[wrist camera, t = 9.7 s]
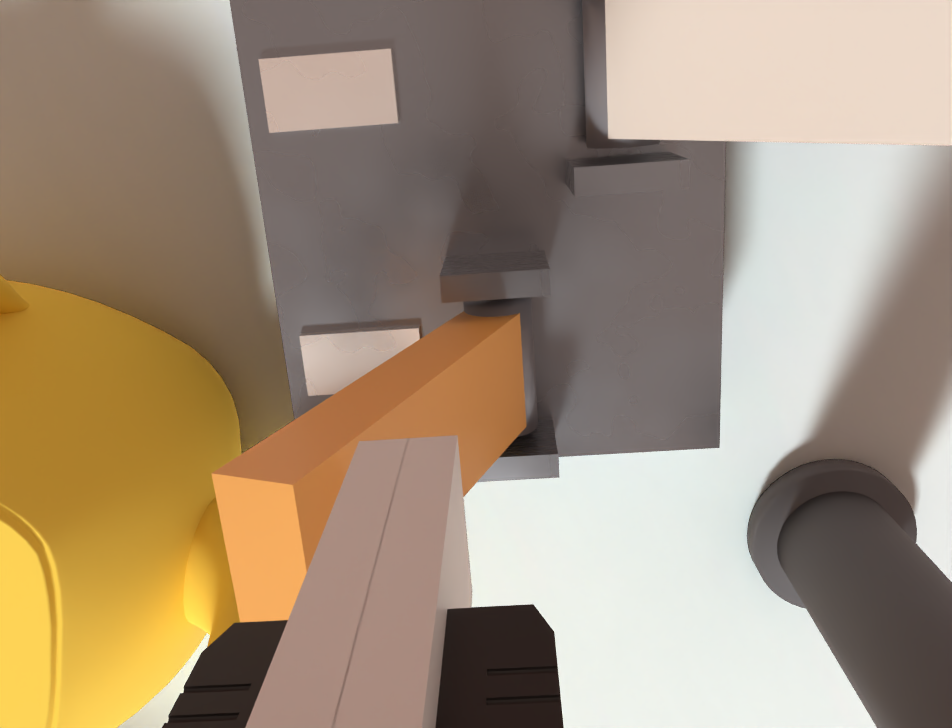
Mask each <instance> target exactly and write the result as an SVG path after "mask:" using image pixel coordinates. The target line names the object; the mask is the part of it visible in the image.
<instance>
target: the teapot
mask: <svg viewBox="0 0 952 728" xmlns="http://www.w3.org/2000/svg"><path fill="white" fill-rule="evenodd" d="M241 454H242V452H241V439H240V427H239V418H238V415H237V411H236V408H235V404H234V401H233V397H232V395H231V394H230V392H229V390H228V388H227V386H226V385H225V383H224V381H223V379H222V378H221V376H220V375H219V374H218V373H217V371H216V370H215V369H214V368H213V367H212V365H211V364H210V363H209V362H208V361H207V360H206V359H205V358H204V357H202V356H201V355H200V354H199V353H198V352H197V351H195V350H194V349H193V348H192V347H191V346H189V345H187V344H185V343H184V342H182V341H180V340H178V339H176V338H175V337H173V336H171V335H169V334H167V333H166V332H164V331H162V330H160V329H158V328H156V327H154V326H152V325H150V324H147V323H145V322H143V321H141V320H139V319H137V318H135V317H133V316H131V315H128V314H126V313H123V312H121V311H118V310H116V309H113V308H111V307H108V306H106V305H103V304H101V303H98V302H96V301H92V300H89V299H86V298H83V297H80V296H77V295H74V294H71V293H68V292H64V291H60V290H56V289H51V288H47V287H43V286H39V285H35V284H29V283H22V282H16V281H9V280H5V279H4V278H3V277H2V276H1V275H0V728H117V727H118V726H119V725H121V724H122V723H123V722H125V721H126V720H127V719H129V718H130V717H131V716H133V715H134V714H135V713H136V712H138V711H139V710H140V709H141V708H142V707H143V706H144V705H146V704H147V703H148V702H149V701H150V700H151V699H152V698H153V697H154V696H155V695H156V694H158V693H159V692H160V691H161V690H162V689H163V688H164V687H165V686H166V685H167V684H168V683H169V682H170V681H171V680H172V679H173V677H174V676H175V675H176V674H177V673H178V672H179V671H180V670H181V668H182V667H183V666H184V665H185V663H186V662H187V661H188V660H189V658H190V657H191V656H192V654H193V653H194V652H195V650H196V649H197V647H198V646H199V644H200V643H201V641H202V640H203V638H204V636H205V635H206V633H208V634H210V638H209V642H208V646H209V645H210V644H212V643H213V642H214V641H215V640H216V639H217V638H218V637H219V636H220V635H221V634H223V633H224V632H225V631H226V630H227V629H228V628H229V627H230V626H231V625H232V624H233V623H239V622H240V618H239V613H238V608H237V603H236V598H235V592H234V587H233V582H232V577H231V572H230V567H229V561H228V556H227V551H226V546H225V541H224V536H223V530H222V525H221V520H220V515H219V510H218V505H217V499H216V494H215V489H214V484H213V479H212V474H211V473H213V472H214V471H216V470H217V469H219V468H220V467H222V466H224V465H225V464H227V463H228V462H230V461H231V460H233V459H234V458H236V457H238V456H239V455H241ZM208 646H207V647H208Z"/></svg>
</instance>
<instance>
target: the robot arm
mask: <svg viewBox="0 0 952 728" xmlns="http://www.w3.org/2000/svg"><path fill="white" fill-rule="evenodd" d="M471 604H472V584H471V574H470V563H469V552H468V542H467V531H466V521H465V510H464V499H463V489H462V478H461V467H460V457H459V446H458V436H457V435H453V436H437V437H421V438H405V439H389V440H373V441H359V443H358V445H357V448H356V450H355V453H354V455H353V458H352V460H351V463H350V465H349V468H348V470H347V473H346V475H345V478H344V480H343V483H342V485H341V488H340V490H339V493H338V496H337V498H336V501H335V503H334V506H333V508H332V511H331V513H330V516H329V518H328V521H327V523H326V526H325V528H324V531H323V533H322V536H321V538H320V541H319V543H318V546H317V548H316V551H315V553H314V556H313V558H312V561H311V564H310V566H309V569H308V571H307V574H306V576H305V579H304V581H303V584H302V586H301V589H300V591H299V594H298V596H297V599H296V601H295V604H294V606H293V609H292V611H291V614H290V616H289V619H288V620H278V621H258V622H239V623H233V624H232V625H231V626H230V627H229V628H228V629H227V630H226V631H225V632H224V633H223V634H221V635H220V636H219V637H218V638H217V639H216V640H215V641H214V642H213V643H212V644H210V645H209V646H208V647H207V648H206V649H205V650H204V651H203V652H202V653H201V655H200V657H199V659H198V661H197V663H196V664H195V666H194V668H193V670H192V672H191V674H190V676H189V678H188V680H187V682H186V683H185V685H184V693H180V695H179V697H178V699H177V701H176V702H175V704H174V706H173V708H172V710H171V712H170V714H169V721H168V723H164V725H163V727H162V728H563V718H562V708H561V699H560V687H559V677H558V667H557V657H556V647H555V636H554V631H553V630H552V629H551V627H550V626H549V625H548V623H547V622H546V621H545V619H544V618H543V617H542V615H541V614H540V613H539V611H538V610H537V609H536V607H535V606H534V605H513V606H494V607H474V608H471Z"/></svg>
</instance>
